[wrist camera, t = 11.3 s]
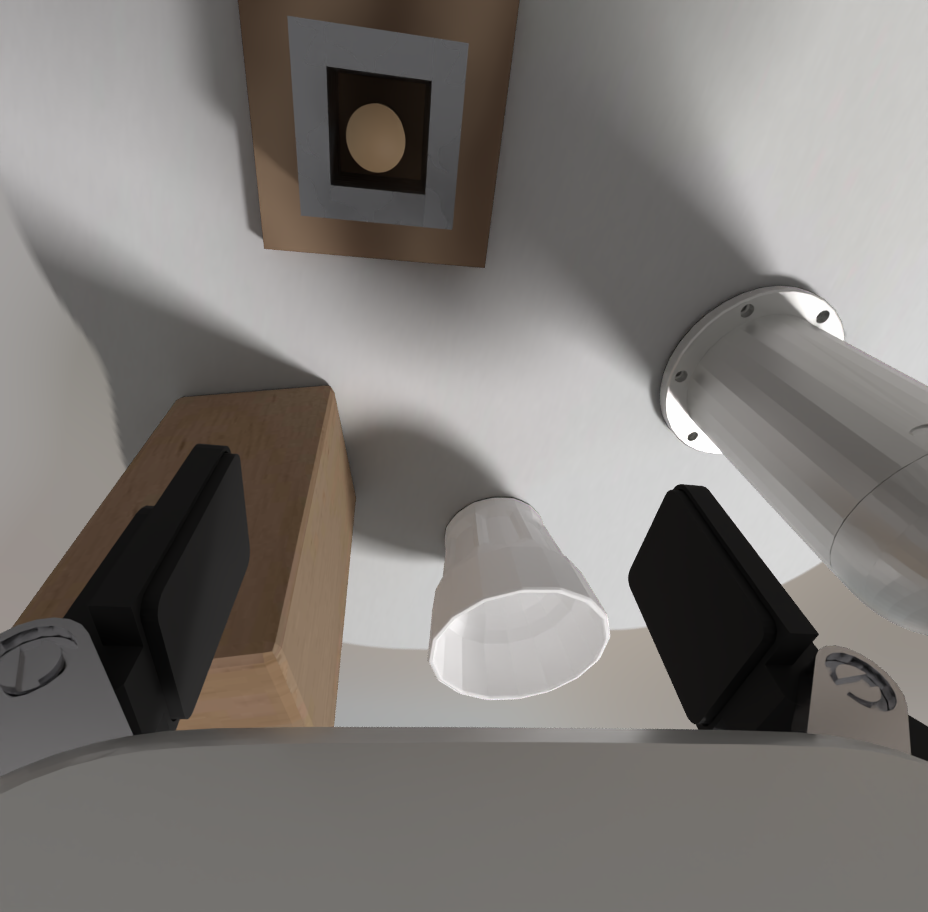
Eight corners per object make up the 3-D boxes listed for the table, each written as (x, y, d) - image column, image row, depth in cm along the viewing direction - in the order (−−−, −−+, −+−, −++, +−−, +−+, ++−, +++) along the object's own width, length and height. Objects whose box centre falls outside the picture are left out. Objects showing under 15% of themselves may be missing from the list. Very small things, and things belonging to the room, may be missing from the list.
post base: (515, -10, 23) (563, -52, 17) (481, 262, 30) (506, 307, 23) (238, -58, 21) (170, -128, 15) (268, 243, 28) (230, 287, 22)
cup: (560, 576, 47) (600, 689, 38) (427, 592, 46) (434, 711, 37) (571, 468, 40) (623, 576, 31) (413, 485, 39) (418, 601, 30)
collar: (455, 52, 23) (469, 43, 19) (443, 210, 27) (452, 229, 23) (306, 30, 22) (287, 15, 18) (315, 197, 26) (301, 215, 22)
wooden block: (175, 394, 32) (-43, 689, 16) (333, 381, 33) (275, 652, 17) (224, 511, 38) (98, 815, 22) (357, 498, 39) (330, 783, 23)
